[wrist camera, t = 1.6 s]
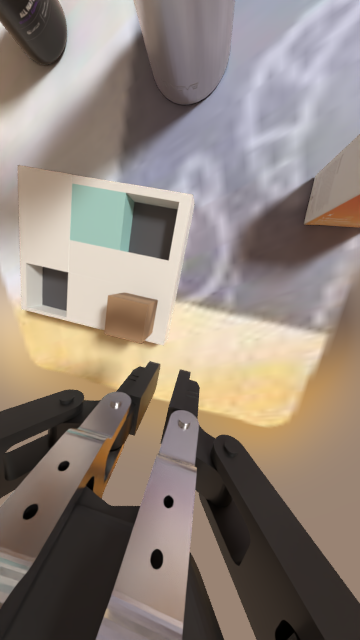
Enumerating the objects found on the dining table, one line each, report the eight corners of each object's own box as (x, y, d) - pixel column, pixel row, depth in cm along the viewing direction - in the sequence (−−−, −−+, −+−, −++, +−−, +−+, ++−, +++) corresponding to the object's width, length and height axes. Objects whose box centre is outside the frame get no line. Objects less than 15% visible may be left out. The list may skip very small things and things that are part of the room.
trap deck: (38, 177, 27) (17, 165, 24) (194, 204, 24) (192, 194, 22) (38, 306, 32) (21, 309, 29) (167, 338, 30) (163, 345, 27)
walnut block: (124, 292, 26) (107, 295, 21) (158, 300, 25) (147, 304, 21) (120, 324, 27) (104, 334, 23) (152, 332, 26) (141, 343, 22)
